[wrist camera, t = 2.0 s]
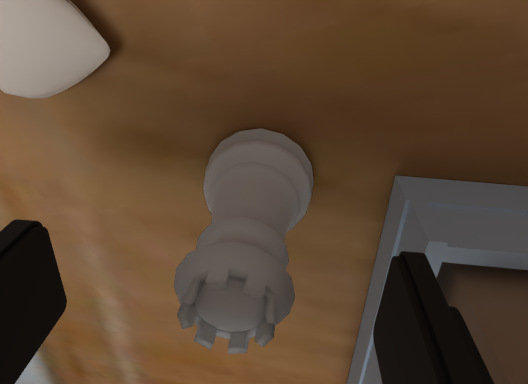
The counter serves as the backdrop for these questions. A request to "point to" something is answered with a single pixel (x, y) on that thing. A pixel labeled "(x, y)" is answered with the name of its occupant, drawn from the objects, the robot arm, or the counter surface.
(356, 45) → the counter surface
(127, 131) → the counter surface
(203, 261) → the rook chess piece
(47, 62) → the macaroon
